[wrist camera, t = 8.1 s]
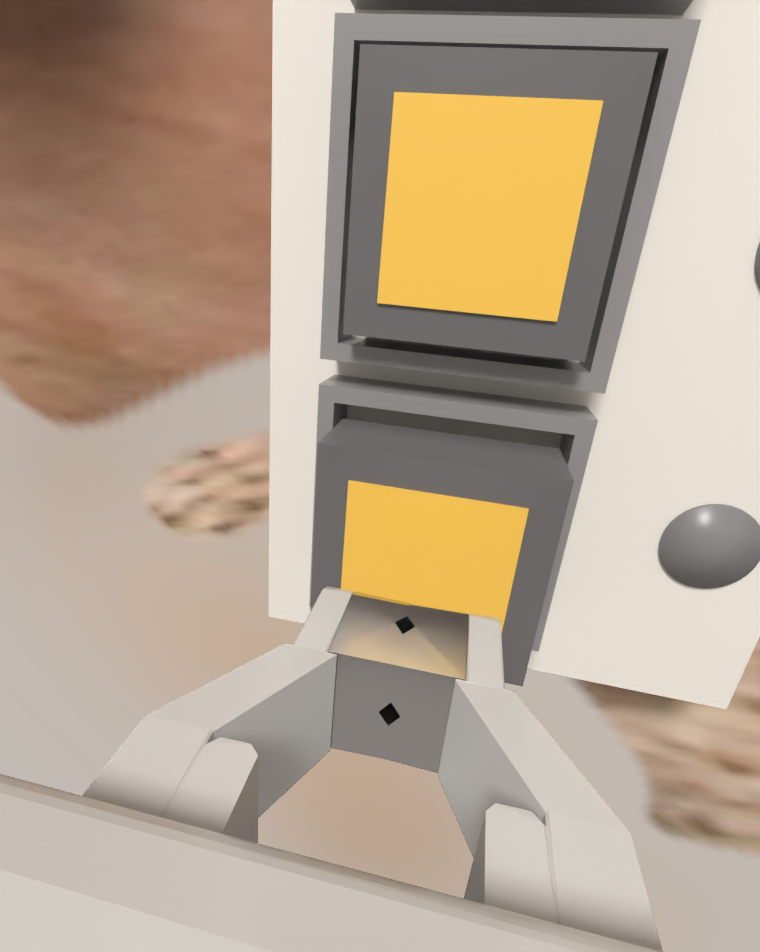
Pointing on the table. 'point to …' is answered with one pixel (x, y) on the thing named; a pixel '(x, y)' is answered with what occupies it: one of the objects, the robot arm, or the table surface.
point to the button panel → (551, 379)
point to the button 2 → (441, 524)
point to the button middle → (488, 193)
